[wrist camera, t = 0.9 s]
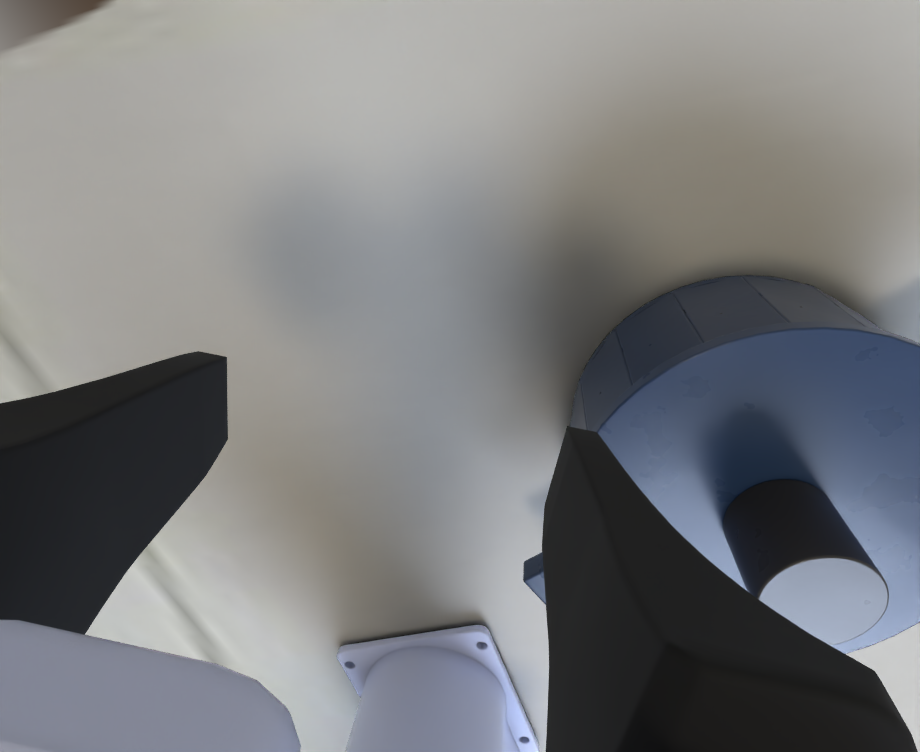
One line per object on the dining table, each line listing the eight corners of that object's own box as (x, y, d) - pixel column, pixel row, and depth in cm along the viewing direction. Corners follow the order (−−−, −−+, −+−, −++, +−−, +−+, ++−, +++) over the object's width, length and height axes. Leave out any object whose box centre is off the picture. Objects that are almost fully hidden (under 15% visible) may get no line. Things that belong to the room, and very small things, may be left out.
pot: (1021, 413, 21) (1161, 510, 17) (615, 600, 27) (631, 711, 22) (882, 149, 18) (1004, 174, 13) (459, 424, 24) (439, 509, 19)
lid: (1055, 542, 18) (1191, 663, 14) (689, 682, 22) (720, 803, 19) (877, 218, 15) (993, 266, 11) (489, 456, 19) (477, 548, 15)
